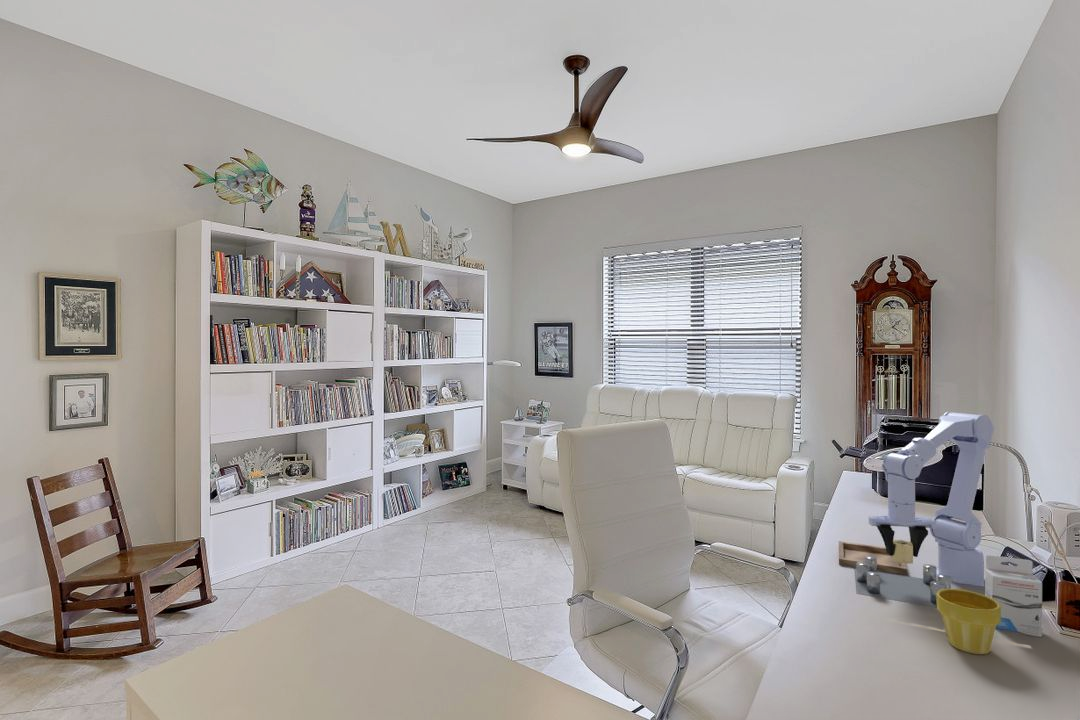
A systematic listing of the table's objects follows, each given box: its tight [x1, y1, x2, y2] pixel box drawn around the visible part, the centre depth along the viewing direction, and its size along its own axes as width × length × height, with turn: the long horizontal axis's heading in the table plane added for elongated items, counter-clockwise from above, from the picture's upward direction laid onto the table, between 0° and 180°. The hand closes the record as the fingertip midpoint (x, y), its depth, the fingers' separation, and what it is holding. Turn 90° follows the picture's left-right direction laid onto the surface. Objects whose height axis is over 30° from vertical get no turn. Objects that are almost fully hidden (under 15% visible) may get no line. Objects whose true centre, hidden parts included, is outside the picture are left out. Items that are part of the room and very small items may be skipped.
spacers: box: [855, 556, 952, 605], centre depth 137 cm, size 20×15×4 cm
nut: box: [891, 539, 914, 565], centre depth 137 cm, size 4×5×5 cm
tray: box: [838, 540, 908, 576], centre depth 156 cm, size 16×16×2 cm
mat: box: [853, 567, 937, 609], centre depth 137 cm, size 21×18×1 cm
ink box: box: [984, 554, 1043, 638], centre depth 117 cm, size 9×5×15 cm, turn 65°
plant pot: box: [936, 588, 1001, 655], centre depth 111 cm, size 10×10×10 cm
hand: (901, 554), depth 137 cm, fingers closed on nut, 5 cm apart
